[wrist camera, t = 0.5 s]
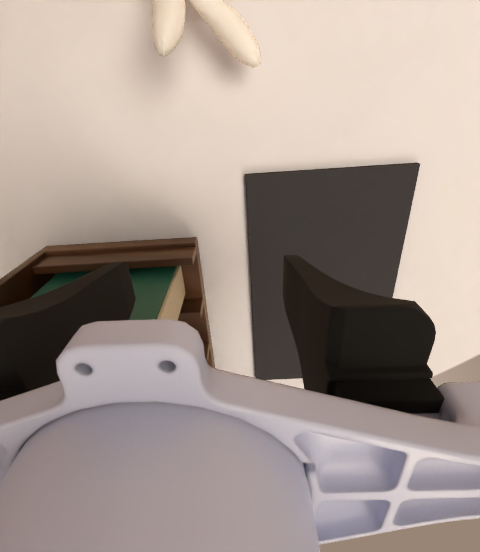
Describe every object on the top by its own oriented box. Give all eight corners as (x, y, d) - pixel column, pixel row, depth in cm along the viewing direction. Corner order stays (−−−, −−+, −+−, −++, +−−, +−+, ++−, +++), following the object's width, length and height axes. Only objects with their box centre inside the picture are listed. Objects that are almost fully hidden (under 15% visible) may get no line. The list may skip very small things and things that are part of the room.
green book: (186, 293, 25) (166, 365, 18) (75, 299, 25) (12, 373, 18) (180, 260, 24) (156, 324, 17) (63, 267, 24) (-10, 333, 17)
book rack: (216, 375, 31) (210, 443, 25) (99, 381, 32) (64, 449, 25) (197, 236, 24) (182, 282, 18) (46, 245, 24) (-22, 294, 18)
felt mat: (375, 371, 31) (376, 374, 31) (255, 377, 31) (256, 380, 31) (417, 162, 21) (420, 163, 21) (245, 173, 22) (245, 174, 21)
